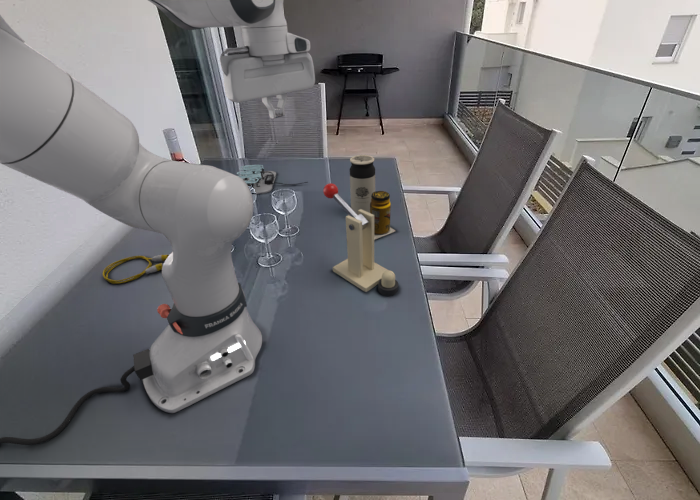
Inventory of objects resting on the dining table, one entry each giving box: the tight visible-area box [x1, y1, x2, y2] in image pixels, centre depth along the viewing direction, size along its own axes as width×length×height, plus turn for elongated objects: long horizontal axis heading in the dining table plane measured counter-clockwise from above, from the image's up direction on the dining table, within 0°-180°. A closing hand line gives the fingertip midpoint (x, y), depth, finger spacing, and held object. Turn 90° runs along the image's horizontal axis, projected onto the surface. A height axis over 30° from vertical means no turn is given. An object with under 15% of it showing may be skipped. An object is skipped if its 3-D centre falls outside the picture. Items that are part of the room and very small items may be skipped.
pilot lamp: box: [377, 269, 399, 297], centre depth 82 cm, size 5×5×5 cm
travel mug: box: [349, 154, 376, 215], centre depth 111 cm, size 8×8×18 cm
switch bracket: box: [332, 209, 388, 293], centre depth 84 cm, size 12×9×17 cm
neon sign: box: [235, 164, 309, 195], centre depth 138 cm, size 21×4×29 cm
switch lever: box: [322, 182, 369, 230], centre depth 82 cm, size 14×4×4 cm, turn 44°
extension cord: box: [102, 254, 170, 285], centre depth 93 cm, size 12×16×2 cm
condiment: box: [370, 190, 396, 241], centre depth 102 cm, size 7×8×12 cm
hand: (277, 117), depth 77 cm, fingers closed
